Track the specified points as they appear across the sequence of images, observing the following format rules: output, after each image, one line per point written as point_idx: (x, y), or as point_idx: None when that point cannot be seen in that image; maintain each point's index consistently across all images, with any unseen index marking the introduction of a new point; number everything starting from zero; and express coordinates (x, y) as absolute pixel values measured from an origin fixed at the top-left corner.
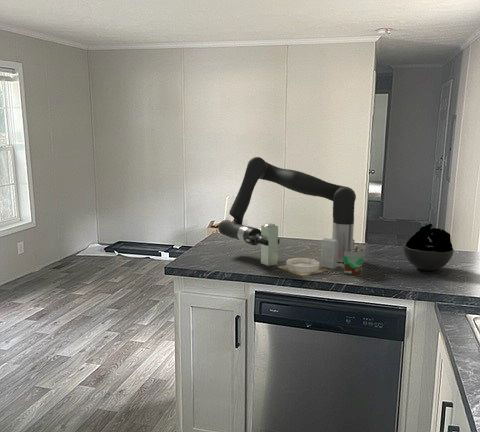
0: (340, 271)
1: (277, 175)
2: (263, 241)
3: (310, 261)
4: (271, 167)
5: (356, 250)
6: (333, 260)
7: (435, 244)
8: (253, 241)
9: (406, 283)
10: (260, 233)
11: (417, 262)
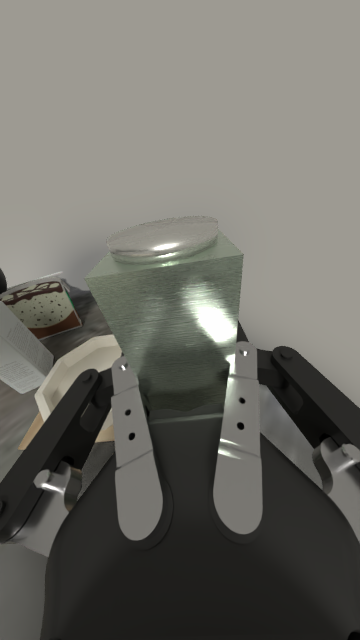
0: (66, 340)
1: None
2: (239, 324)
3: (49, 392)
4: None
5: (23, 293)
6: (40, 342)
7: None
8: (301, 410)
9: (74, 287)
10: (160, 516)
11: (2, 292)
